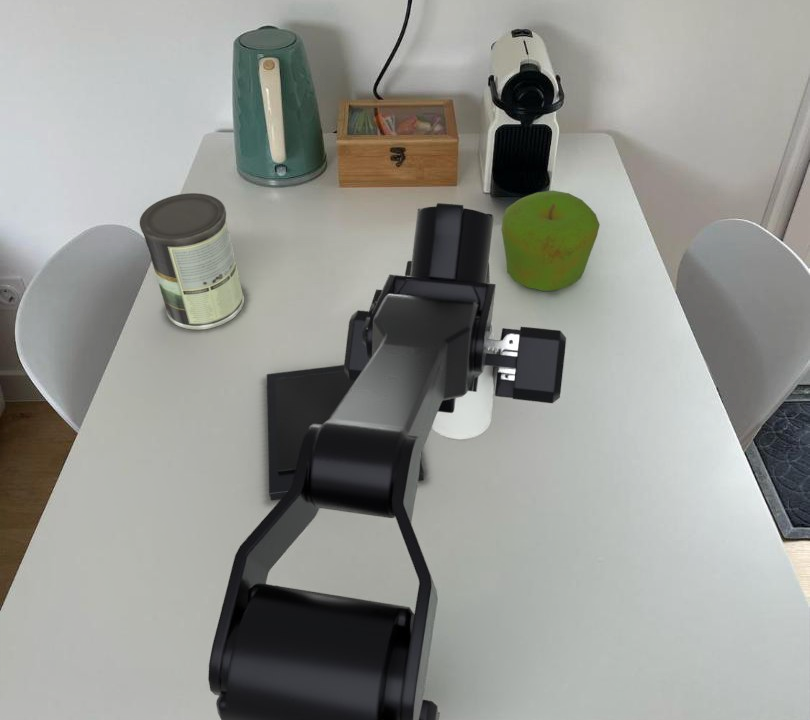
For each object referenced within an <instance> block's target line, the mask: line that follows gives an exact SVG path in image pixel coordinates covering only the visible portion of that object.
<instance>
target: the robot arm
mask: <svg viewBox="0 0 810 720" xmlns="http://www.w3.org/2000/svg"><path fill="white" fill-rule="evenodd" d="M415 220H416V222H415V230H414V239H413V248H412V256H411V260H408V261H407V262H406V269H405V272H404V275H402V274H388V276H387V279H386V281H385V283H384V285H383V287H382V289H377V288H376V289H375V292H374V295H373V298H372V300H371V301H372V302H371V303H370V307H369V310H359V309H357V310H356V311H355V312H354V313H353V314H352V315H351V316H350V318H349V321H348V329H347V337H346V345H345V354H344V362H343V365H344V372H345V374H346V376H347V377H348V379H349V380H352V381H355V382H354V383H353V385H352V386H351V388H350V389H349V391H348V392H347V393H346V395H345V396H344V398H343V399H342V401H341V402H340V404H339V405H338V406H337V408H336V409H335V411H334V412H333V414H332V415H331V417H330V418H329V419H328V420H327V421H326V422H325V423H323V424H322V425H321V424H312V425H311V426H309V428H308V430H307V432H306V433H305V435H304V438H303V442H302V445H301V449H300V453H299V457H298V461H297V466H296V470H295V474H294V478H293V483H292V486H291V488H290V490H289V491H288V492H287V493H286V494H285V495H284V497H283V498H282V499H279V500H278V502H277V503H276V505H274V507H273V508H272V509H271V510H270V511H269V513H267V515H266V516H264V518H263V519H262V520H261V521H260V522H259V524H258V525H257V526H256V527H255V528H254V529H253V530H252V532H251V533H250V534H249V535H248V536H247V538H246V539H245V540H244V541H243V542H242V543H241V544H240V545H239V547H238V549H237V551H236V553H235V555H234V559H233V562H232V566H231V570H230V574H229V579H228V582H227V587H226V590H225V594H224V598H223V602H222V605H221V610H220V614H219V618H218V622H217V626H216V628H215V629H216V630H215V632H214V633H215V634H214V638H213V642H212V646H211V651H210V656H209V661H208V677H207V678H208V679H207V680H208V685H209V690H210V692H211V693H212V694H213V695H214V696H217V699H216V701H215V707H216V711H217V714H218V716H219V718H220V720H440V716H441V712H439V707H438V705H437V704H436V703H435V702H434V701H432V700H428V699H424V694H425V687H426V683H427V676H428V675H427V674H428V668H429V661H430V654H431V648H432V641H433V635H434V634H433V633H434V627H435V622H436V621H435V620H436V613H437V606H438V600H439V599H438V592H437V591H438V590H437V587H436V585H435V582H434V579H433V577H432V574H431V573H430V569H429V566H428V564H427V561H426V558H425V556H424V554H423V551H422V548H421V545H420V543H419V540H418V537H417V534H416V532H415V530H414V527H413V523H412V521H413V514H414V509H415V503H416V497H417V492H418V491H417V490H418V485H419V484H418V483H419V481H418V478H419V470H420V458H421V459H422V456H421V455H422V453H423V450H424V448H425V446H426V443H427V441H428V437H429V435H430V433H431V430H432V425H433V422H434V420H435V417H436V415H437V412H446V413H453V412H454V409H455V400H456V398H458V397H462V396H464V395H465V394H466V393H467V391H473V392H477V386H478V377H479V376H480V374H481V373H483V370H484V366H494V369H493V375H492V377H493V384H494V387H493V393H494V396H495V397H500V398H510V399H512V400H519V401H527V402H536V403H545V404H554V403H555V402H556V401H558V400H559V399H561V392H562V383H563V372H564V364H565V354H566V346H567V337H566V336H565V334H564V333H563V332H562V330H558V329H550V328H541V327H540V328H538V327H528V326H520V329H513V328H505V327H504V328H502V329H501V334H500V339H499V340H498V339H495V340H490V339H489V334H490V327H491V325H492V320H493V315H494V305H495V297H496V287H497V285H496V283H490V281H491V280H490V262H489V261H490V253H491V245H492V244H491V243H492V236H493V235H492V234H493V226H494V215H493V214H492V213H485V212H482V211H480V210H474V209H471V208H465V206H464V205H463V204H456V203H455V204H453V203H444V202H443V203H442V202H437V203H436V205H435V206H426V207H423V208H417V212H416V219H415ZM490 348H491V349H492V352H494V350H495V354H489V353H487V351H489V350H490ZM320 509H324V510H331V511H337V512H343V513H350V514H351V513H353V514H358V515H365V516H371V517H372V516H373V517H379V518H386V519H394V518H395V520H396V523H397V526H398V528H399V531H400V534H401V536H402V539H403V541H404V544H405V547H406V550H407V552H408V555H409V558H410V560H411V563H412V565H413V568H414V571H415V573H416V576H417V580H418V589H417V596H416V602H415V608H414V609H415V610H414V611H413V610H412V609H411V607H410V606H405V605H399V604H394V603H393V604H392V603H385V602H381V601H380V602H379V601H374V600H367V599H361V598H355V597H349V596H343V595H336V594H330V593H324V592H318V591H311V590H305V589H300V588H299V589H298V588H294V587H286V586H280V585H273V584H267V581H268V576H269V573H270V571H271V569H272V568H273V567H274V566H275V565H276V563H277V562H279V560H280V559H281V558H282V556H283V555H284V554H286V552H287V551H288V550H289V548H290V547H291V546H292V545H293V544H294V542H296V540H297V539H298V537H300V535H302V533H303V532H304V531H305V530H306V528H307V527H308V526H310V524H311V522H313V520H314V519H315V518H316V517H317V514H318V513H319V510H320Z"/></svg>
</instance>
